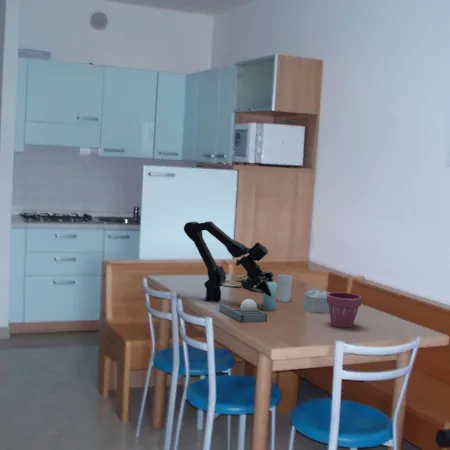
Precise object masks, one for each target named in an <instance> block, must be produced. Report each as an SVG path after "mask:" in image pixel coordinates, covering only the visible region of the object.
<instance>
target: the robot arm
mask: <svg viewBox="0 0 450 450" xmlns="http://www.w3.org/2000/svg"><path fill="white" fill-rule="evenodd" d="M183 231H184V233H185V234H186V236H187V237H188V238H189V239H190V240H191V242H193V243H194V245H195V247H196V249H197V251H198V252H199V255H200V257H201V259H202V261H203V263H204V265H205V266H206V269H207V277H208V280H206V281H205V282H204V283H203V284H204V288H205V291H206V292H205V299H206V300H205V302H216V303H217V302H218V303H219V302H221V300H222V290H221V287H222V286H223V285H222V284H223V283H224V282H225V280H227V275H226V274H227V272H226V271H225V270H224V267H223V266H222V265H221V266H219V265H217V263H216V261H215V259H214V257H213V255H212V253H211V251H210V249H209V247H208V245H207V243H206V241H205V239H204V237H203V236H204V235H203V231H207V232H208V233H209V234H210V235H212V236H213V238H215V239H216V240H217V241H219V243H221V244H222V245H224V247H225V248H226V251H228V253H229V254H230V256H232V257H233V258H240V259H236V264H235V266H236V267H238V266H242V267H243V269H244V270H245V271H246V274H247V276H248V278H247V279H246V281H243V280H242V281H241V282H240V283H241V285H242V287H241V288H243V289H244V290H247V291H251V290H252V289H253V288H254V286H256V287H255V288H254V289H260V290H261V291H263V292H262V293H263V294H264V293H266V294H267V295H268V296H271V292H270V289H269V287H268V285H267V282H266V281H271V282H274V279H273V278H274V273H273V272H272V271H267V272H265V271H263V270H262V268H261V265H260V264H258V263H257V262H260V261H261V260H262V259H263V258H264V257H266V255H268V253H269V251H268V249H267V248H266V247H265V246H264V245H263V244H261V243H260V242H256V243H254V245H253V246H252V247H251V248H249V247H246V245H244V244H243V243H242V242H239V241H238V240H234V239H233V238H231V237H230V236H229V235H228V234H227V233H225V232H224V231H223V230H222V229H221V228H219V227H218V226H217V225H216V224H215V223H214V222H213V221H205V222H198V221H188V222H186V223H185V224H184V226H183ZM256 261H257V262H256Z"/></svg>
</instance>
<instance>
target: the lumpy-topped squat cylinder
mask: <svg viewBox="0 0 450 450" xmlns="http://www.w3.org/2000/svg"><path fill="white" fill-rule="evenodd" d="M327 294H328V293H327V291H322V292H321V291H320V290H319V289H315V290H314V289H311V290H308V291H306V292H305V293H304V301H303V302H304V303H303V310H305V311H306V312H309V313H313V314H329V313H328V312H329V304H328V303H327Z"/></svg>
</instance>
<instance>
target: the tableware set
mask: <svg viewBox="0 0 450 450" xmlns="http://www.w3.org/2000/svg"><path fill="white" fill-rule="evenodd" d="M236 278H239V279H241V280H242V281H246V279H247V278H248V276H247V273H245V274H241V275H236ZM225 283H233V284H235V285H227V284H225ZM276 283H277V289H278V282H276ZM222 286H224V287H228V288H243V287H242V285H241V282H240V281H239V282H238V281H231V280H230V279H226V280H225V282H224V283H223V284H222ZM255 287H256V286H254V288H255ZM254 288H252V289H253V291H254V292H257V293H264V292H263V291H261V290H260V289H254Z"/></svg>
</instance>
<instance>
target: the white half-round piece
mask: <svg viewBox="0 0 450 450" xmlns="http://www.w3.org/2000/svg"><path fill="white" fill-rule="evenodd" d="M257 307H258V306H257V303H256V301H255V300H253V299H251V298H246V299H244V300H243V301H242V302H241V304H240V308H239V309H241V311H248V310H256V309H258V308H257Z"/></svg>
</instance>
